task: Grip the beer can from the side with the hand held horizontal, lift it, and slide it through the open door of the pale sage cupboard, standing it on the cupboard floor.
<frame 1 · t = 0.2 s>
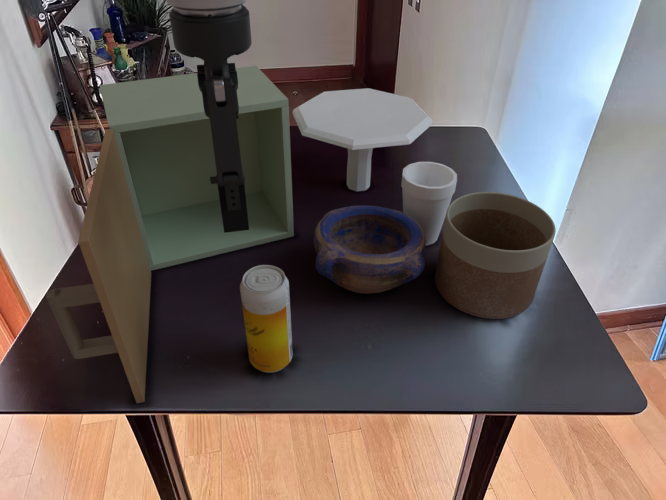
hand: (232, 197, 62), 24 cm above the table, tool pointing down, fingers open, 13 cm apart
bowl: (366, 275, 88), on the table
foam cup: (420, 236, 97), on the table
cupboard: (213, 227, 98), on the table
beer can: (271, 359, 73), on the table
cupboard door: (101, 264, 68), point 13 cm above the table, hinge at 100.0°
planter: (482, 288, 85), on the table
table 2: (358, 186, 111), on the table
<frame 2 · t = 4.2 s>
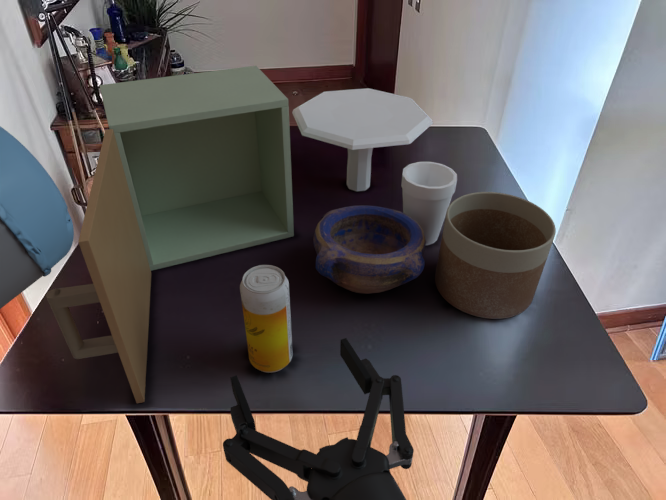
hand: (290, 364, 61), 9 cm above the table, tool horizontal, fingers open, 13 cm apart
nothing on the table moved.
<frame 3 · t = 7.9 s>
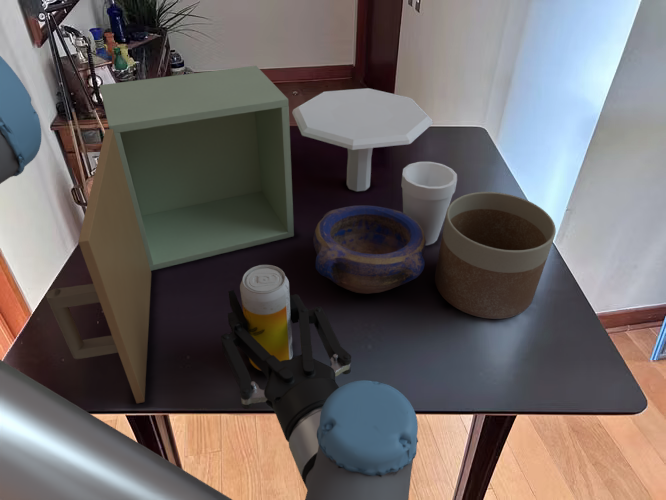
hand: (256, 291, 71), 8 cm above the table, tool horizontal, fingers closed on beer can, 6 cm apart
beer can: (271, 359, 73), on the table, touching gripper
everything else where it was.
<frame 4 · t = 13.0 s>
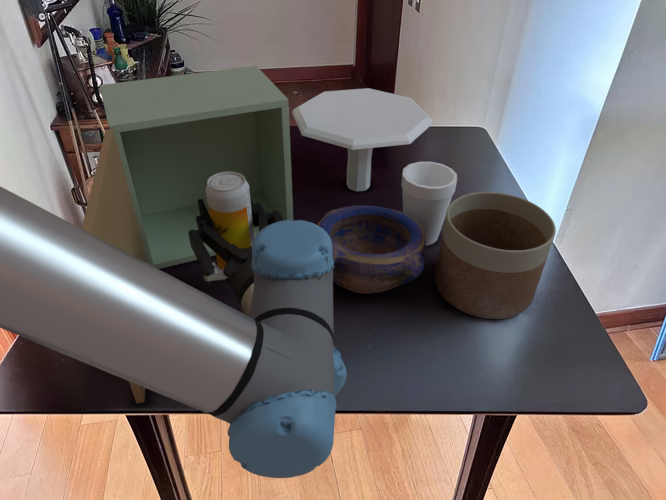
hand: (223, 202, 80), 14 cm above the table, tool horizontal, fingers closed on beer can, 6 cm apart
beer can: (237, 264, 81), point 5 cm above the table, touching gripper
everything else where it was.
when the fingers open (10 cm above the table, at t = 18.4 s): beer can stays where it is, resting on cupboard.
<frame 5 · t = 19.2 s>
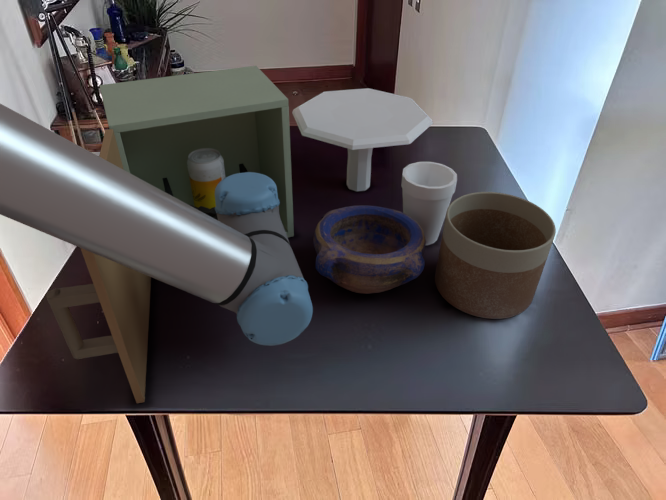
hand: (204, 177, 92), 10 cm above the table, tool horizontal, fingers open, 13 cm apart
beer can: (215, 229, 96), point 1 cm above the table, touching cupboard
everything else where it was.
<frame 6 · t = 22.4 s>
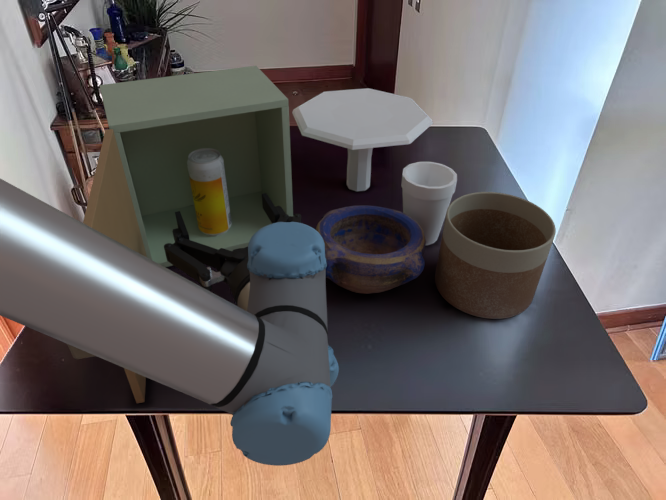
hand: (222, 209, 81), 12 cm above the table, tool horizontal, fingers open, 13 cm apart
nothing on the table moved.
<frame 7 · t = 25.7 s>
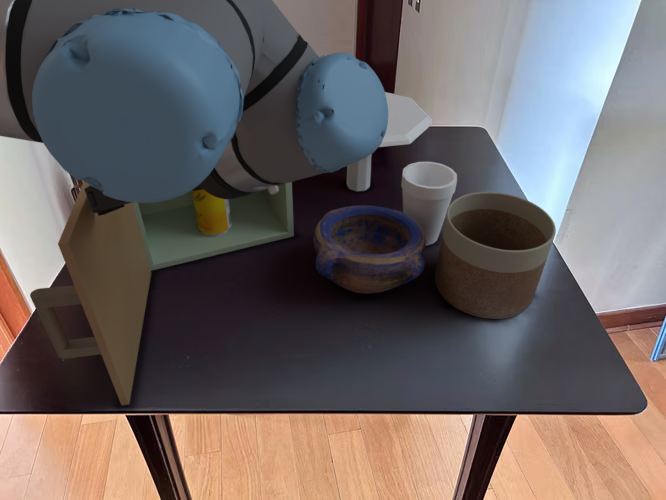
hand: (152, 190, 63), 24 cm above the table, tool tilted 60°, fingers open, 12 cm apart
cupboard door: (94, 264, 68), point 13 cm above the table, hinge at 104.1°
everything else where it was.
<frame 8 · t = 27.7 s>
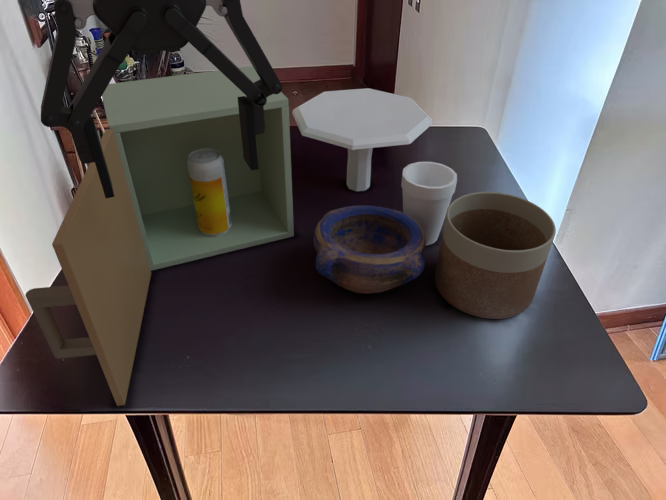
hand: (183, 177, 50), 32 cm above the table, tool pointing down, fingers open, 13 cm apart
cupboard door: (92, 264, 68), point 13 cm above the table, hinge at 105.3°
everything else where it was.
at the end: beer can inside the target area in the cupboard (1.6 cm from its centre), point 1.0 cm above the cupboard's base; beer can tilted 0°; the gripper is holding nothing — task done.
